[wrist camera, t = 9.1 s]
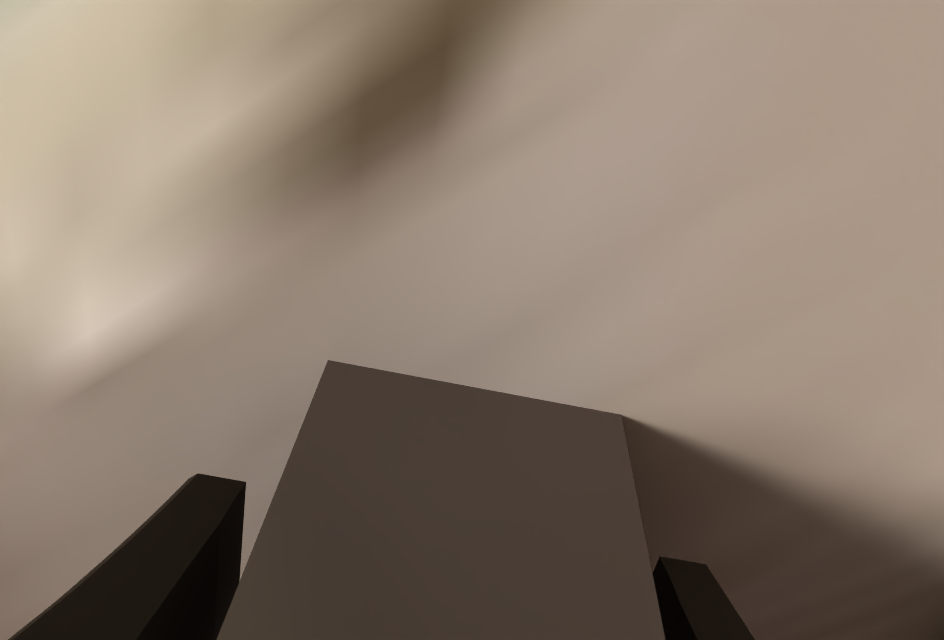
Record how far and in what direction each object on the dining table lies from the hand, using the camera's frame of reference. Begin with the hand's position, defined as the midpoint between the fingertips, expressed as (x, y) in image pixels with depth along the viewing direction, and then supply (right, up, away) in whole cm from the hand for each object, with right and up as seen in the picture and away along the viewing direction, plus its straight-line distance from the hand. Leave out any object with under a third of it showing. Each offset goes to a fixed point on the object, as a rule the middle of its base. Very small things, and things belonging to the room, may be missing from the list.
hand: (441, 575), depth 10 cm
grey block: (0, +1, +1) cm, 2 cm away
